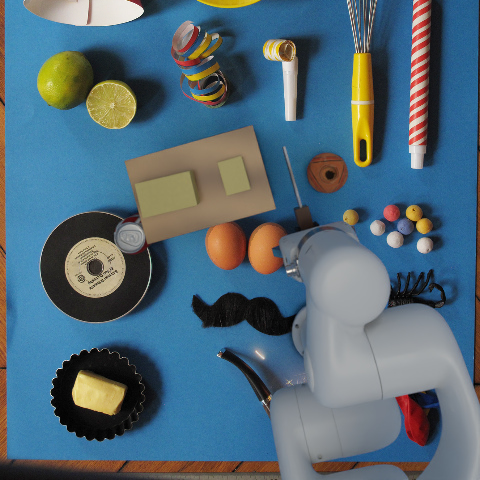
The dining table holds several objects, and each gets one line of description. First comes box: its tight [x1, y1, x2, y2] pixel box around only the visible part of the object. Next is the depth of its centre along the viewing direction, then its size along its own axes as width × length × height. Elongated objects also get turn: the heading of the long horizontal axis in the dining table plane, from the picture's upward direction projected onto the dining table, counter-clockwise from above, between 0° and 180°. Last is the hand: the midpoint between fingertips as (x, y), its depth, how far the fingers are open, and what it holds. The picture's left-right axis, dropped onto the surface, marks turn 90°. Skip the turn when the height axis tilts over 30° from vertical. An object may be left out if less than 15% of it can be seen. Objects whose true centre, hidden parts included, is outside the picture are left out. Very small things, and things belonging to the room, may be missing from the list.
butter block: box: [135, 170, 200, 218], centre depth 61 cm, size 5×8×4 cm, turn 103°
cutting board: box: [124, 124, 277, 245], centre depth 74 cm, size 13×20×23 cm, turn 106°
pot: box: [306, 152, 349, 194], centre depth 82 cm, size 8×8×7 cm
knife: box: [281, 145, 314, 231], centre depth 67 cm, size 19×2×3 cm, turn 16°
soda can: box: [113, 212, 153, 256], centre depth 80 cm, size 7×7×12 cm
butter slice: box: [218, 156, 251, 196], centre depth 61 cm, size 5×2×4 cm
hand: (307, 233), depth 68 cm, fingers closed on knife, 2 cm apart
